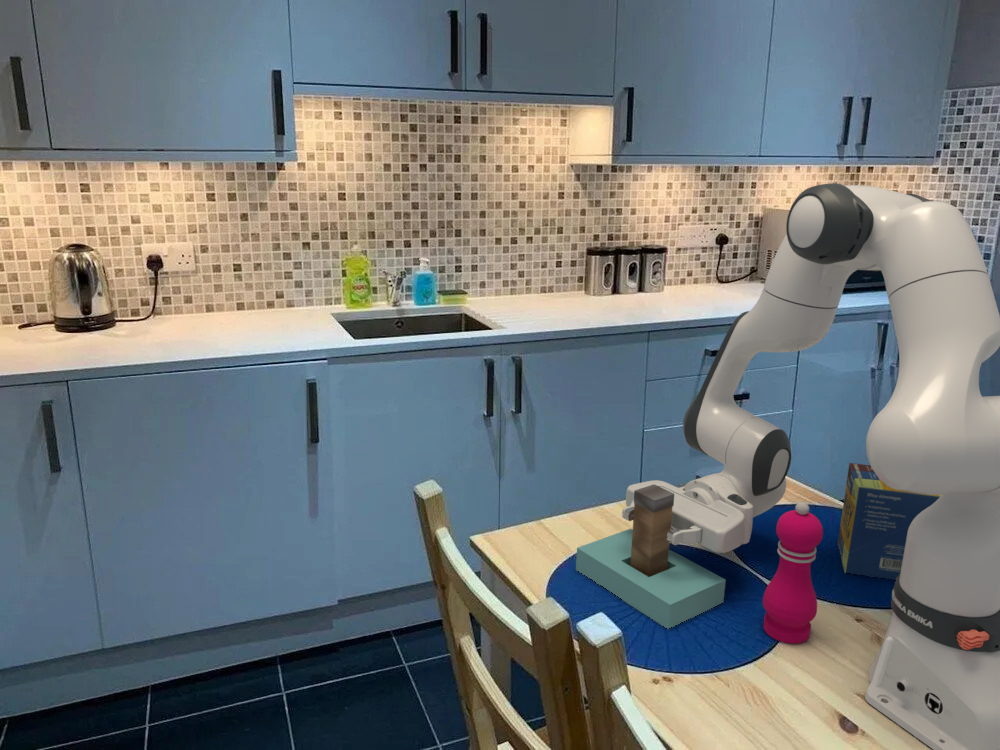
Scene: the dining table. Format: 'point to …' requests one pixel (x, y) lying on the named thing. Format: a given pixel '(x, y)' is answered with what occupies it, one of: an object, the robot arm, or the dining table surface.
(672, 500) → the peg
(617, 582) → the post foot
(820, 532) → the pepper mill
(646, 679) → the dining table surface
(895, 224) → the robot arm
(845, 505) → the protein box
